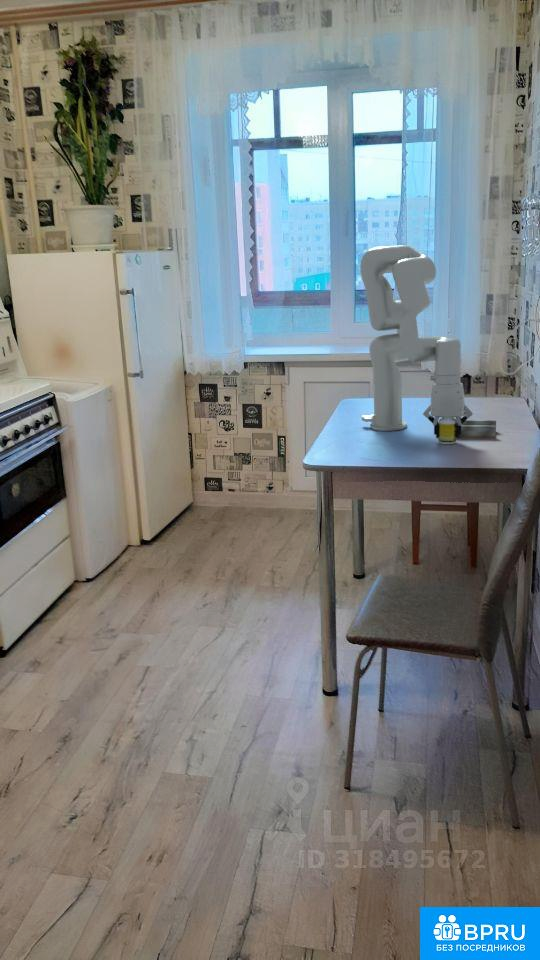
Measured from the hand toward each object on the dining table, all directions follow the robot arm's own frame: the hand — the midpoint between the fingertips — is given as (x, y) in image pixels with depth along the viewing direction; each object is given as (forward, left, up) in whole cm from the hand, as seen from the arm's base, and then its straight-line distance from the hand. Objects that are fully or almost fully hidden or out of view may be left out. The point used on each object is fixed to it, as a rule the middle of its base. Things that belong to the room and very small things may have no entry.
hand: (447, 436), depth 241 cm
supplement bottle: (0, 0, -2) cm, 2 cm away
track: (+5, +11, -2) cm, 12 cm away
